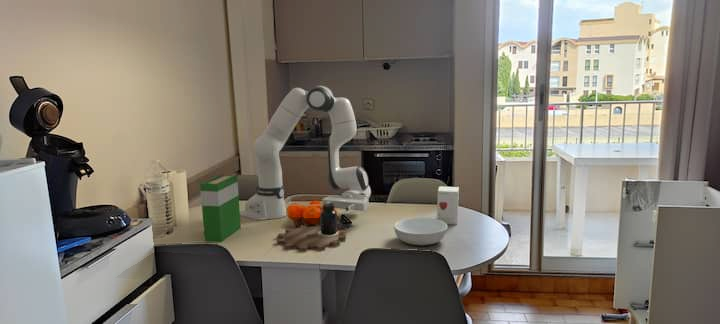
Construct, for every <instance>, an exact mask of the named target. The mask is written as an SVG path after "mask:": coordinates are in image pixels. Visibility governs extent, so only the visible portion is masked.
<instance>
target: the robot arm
mask: <svg viewBox="0 0 720 324" xmlns="http://www.w3.org/2000/svg"><path fill="white" fill-rule="evenodd" d="M333 92H334V91H332V90H331V88H329V87H328V86H326V85H317V86H315V87H311V89H309V90H308V91H306V90H305V89H303V88H301V87H293V88H292V89H291V90H290V91H289V92H288V93H287V94H286V95H285V97H284V98H283V100H282V101H281V102H280V104H279V105H278V107H277V108H276V110H275V112H274V114H273V115H272V117H271V119H270V121H269V123H268V125H267V126H266V129H264V131H263V133H262V134H261V136H258V137H257V138H256V139H255V141H254V143H253V147H252V150H253V154H254V158H255V164H256V168H257V177H258V185H257V186H256V187H255V188H253V189H254V190H253V191H256V192H255V194H253V195H252V196H251V197H250V198H249V199H248V200H246V202H245V205H244V210H242V211H240V217H245V218H249V219H255V220H259V221H266V220H274V219H281V218H283V217H285V216H287V215H288V213H287V214H286V210H287V207H286V204H285V197H284V196H285V189H284V184H283V170H282V165H281V159H280V151H282V149H283V147H284V146H285V144H286V142H287V140H288V139H289V137H290V135H291V134H292V132H293V131H294V129H295V127H296V126H297V125H298V122H299V121H300V120H301V118H302V116H303V115H304V113H305V112H306V111H307V110H308V109H309V108H310V109H311V110H312V111H316V112H322V113H323V112H324V113H328V114H329V118H330V122H331V134H330V135H329V136H328V139H327V158H328V176H327V177H328V178H327V181H328V185H329V186H330V187H331V188H332V189H333V190H335V191H340V190H345V189H348V190H345V191H344V192H343V193H341V196H339V195H328V196H326V197H323V198H322V199H321V203H322V204H321V205H322V206H323V204H326V203H332V204H334V208H335V209H342V210H345V211H346V212H347V211H348V212H350V211H359V212H362V211H363V212H364V211H366V210H368V209H369V204H370V203H369V201H370V200H369V199H370V197H371V194H372V190H371V186H370V185H369V184H370V183H369V181H370V179H369V174H368V172H367V171H366V170H365V169H364V167H362V166H360V165H357V166H350V167H343V168H342V167H340V151H339V150H340V148H341V147H342V146H343V145H345V144H346V143H348V142H349V141H351V140H352V139H353V138H354V137H355V136H356V133H357V130H358V128H357V121H356V117H355V113H354V110H353V106H352V104H351V101H350V100H349V99H348V98H346V97H341V96H339V97H335V95H334V93H333Z"/></svg>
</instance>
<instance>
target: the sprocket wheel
mask: <svg viewBox="0 0 720 324" xmlns="http://www.w3.org/2000/svg"><path fill="white" fill-rule="evenodd" d="M284 231H285V233H278V234H277V235H276V237H277V239H276V244H277V245H278V246H282V245H283V249H284V250H288V251H289V250H293V249H297V250H299V252H303V253H307V252H308V250H317V251H318V252H321V251H325V250H326V248H327V247H333V248H337V247H339V246H341V242H346V240H347V235H346V231H345V230H344V229H340V230H337V233H336V234H334V235H324V234H322V233H321V224H316V225H315V226H307V225H306V224H305V225H299V227H297V228H295V229H294V228H291V227H289V228H287V229H285V230H284Z"/></svg>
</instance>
